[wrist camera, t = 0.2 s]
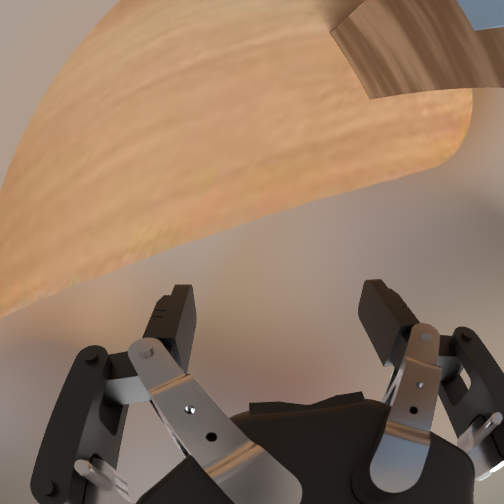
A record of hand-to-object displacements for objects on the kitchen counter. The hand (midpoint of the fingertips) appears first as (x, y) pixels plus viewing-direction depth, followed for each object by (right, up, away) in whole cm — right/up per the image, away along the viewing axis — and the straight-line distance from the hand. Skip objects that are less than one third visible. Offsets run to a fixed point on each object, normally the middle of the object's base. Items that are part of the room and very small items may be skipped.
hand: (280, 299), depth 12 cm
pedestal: (+18, +32, +18) cm, 41 cm away
